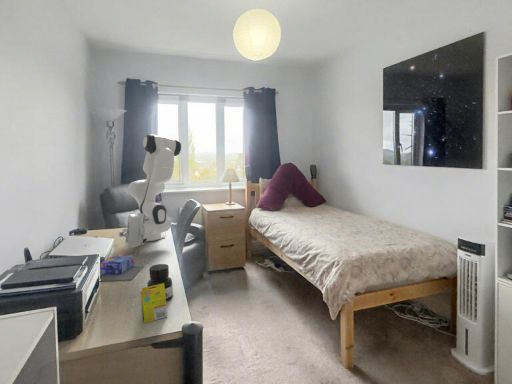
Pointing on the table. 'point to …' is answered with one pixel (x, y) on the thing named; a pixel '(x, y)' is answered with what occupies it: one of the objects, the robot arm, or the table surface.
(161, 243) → the table surface
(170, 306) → the table surface
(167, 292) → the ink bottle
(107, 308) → the table surface
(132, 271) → the desk mat
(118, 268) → the ink cartridge box
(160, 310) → the crayon box
